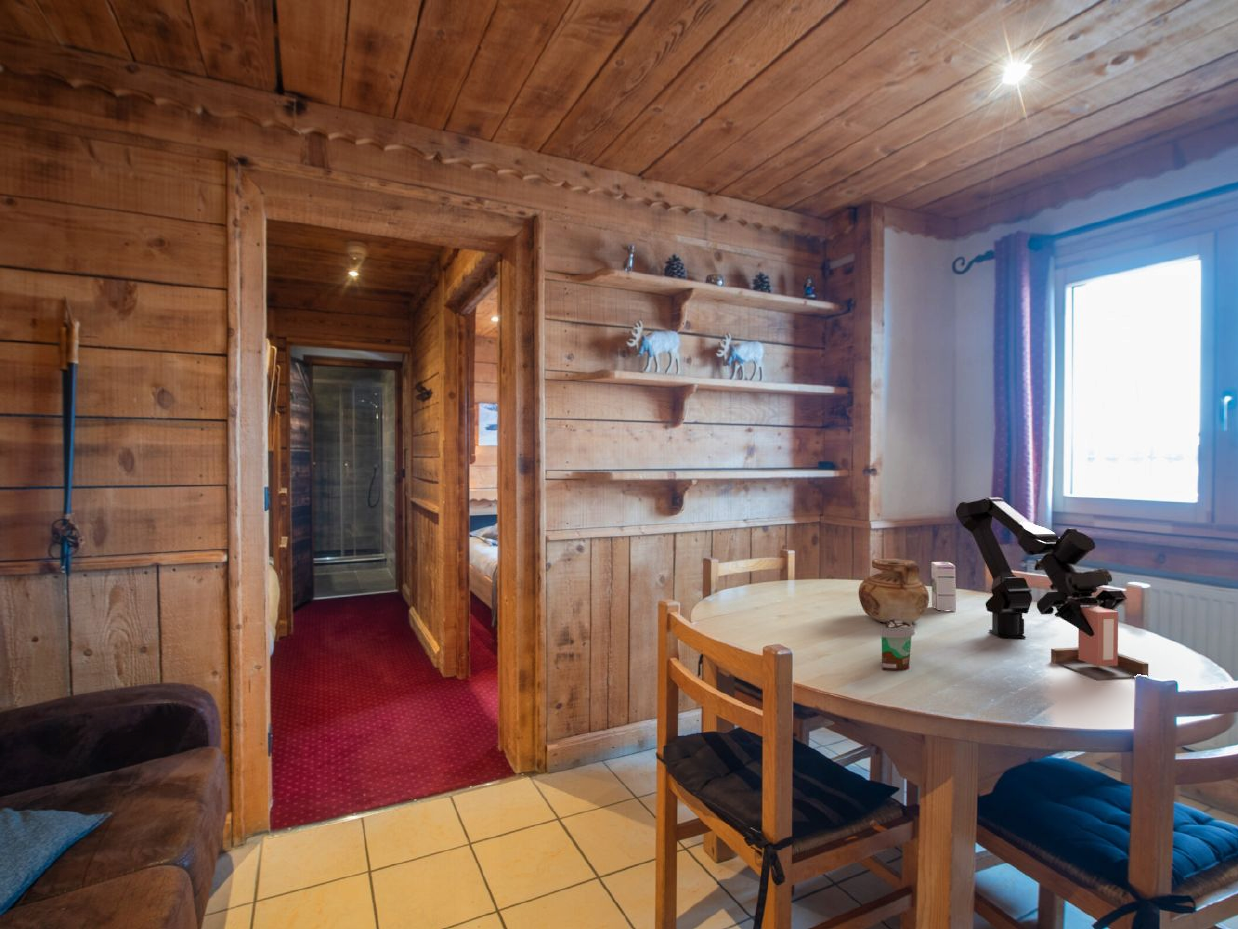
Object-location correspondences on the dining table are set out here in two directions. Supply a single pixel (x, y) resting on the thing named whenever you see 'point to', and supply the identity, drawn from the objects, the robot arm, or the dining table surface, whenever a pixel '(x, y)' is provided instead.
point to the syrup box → (943, 586)
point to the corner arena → (1123, 671)
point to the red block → (1099, 637)
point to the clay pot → (894, 591)
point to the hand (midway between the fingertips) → (1103, 634)
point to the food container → (896, 644)
